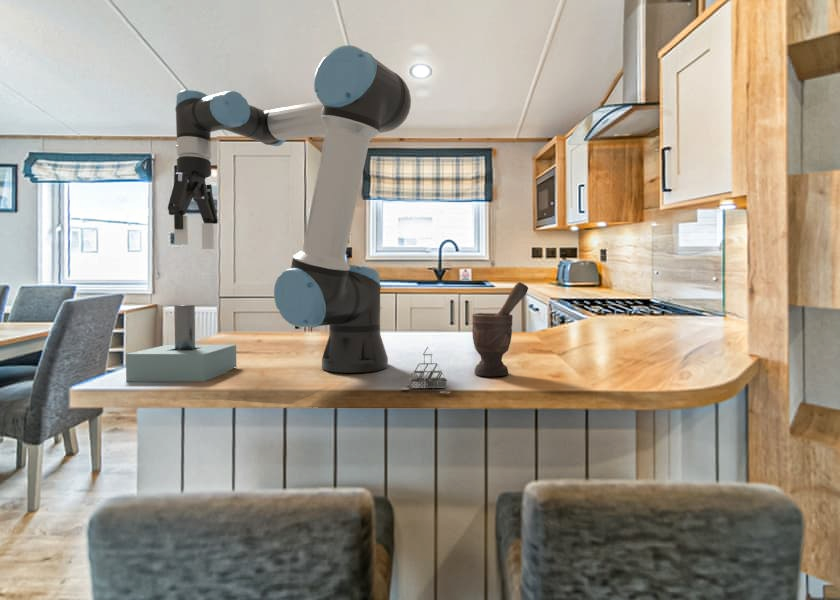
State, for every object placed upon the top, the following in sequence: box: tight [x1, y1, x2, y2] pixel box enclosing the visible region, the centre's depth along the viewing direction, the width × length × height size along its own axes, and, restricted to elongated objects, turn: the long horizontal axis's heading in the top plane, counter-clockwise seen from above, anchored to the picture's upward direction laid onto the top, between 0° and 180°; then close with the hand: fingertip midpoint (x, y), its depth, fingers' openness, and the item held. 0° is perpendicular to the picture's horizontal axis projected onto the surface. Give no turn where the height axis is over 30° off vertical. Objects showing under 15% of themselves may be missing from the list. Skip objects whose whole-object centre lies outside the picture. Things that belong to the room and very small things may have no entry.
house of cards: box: [401, 346, 451, 394], centre depth 93 cm, size 9×9×8 cm
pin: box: [173, 304, 196, 351], centre depth 106 cm, size 4×4×14 cm
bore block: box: [125, 344, 237, 382], centre depth 107 cm, size 16×16×6 cm
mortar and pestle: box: [471, 281, 529, 378], centre depth 105 cm, size 12×9×20 cm
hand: (195, 246), depth 119 cm, fingers open, 13 cm apart
